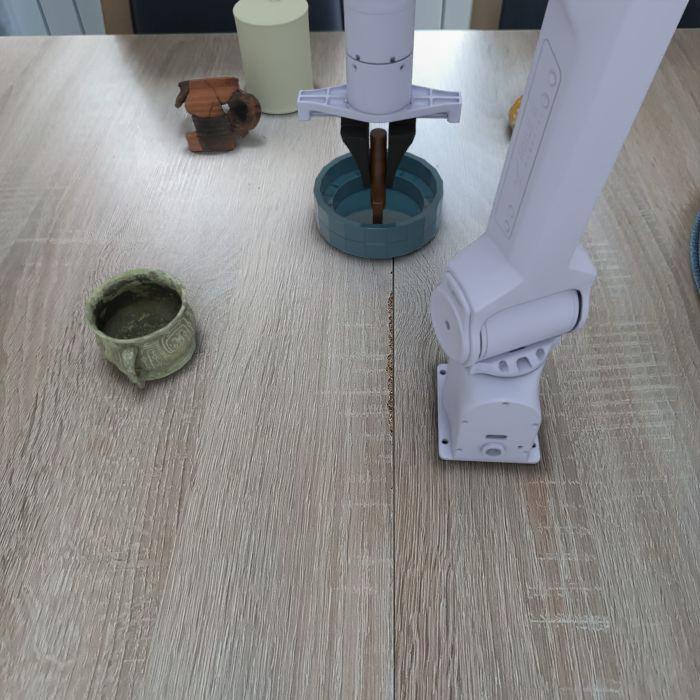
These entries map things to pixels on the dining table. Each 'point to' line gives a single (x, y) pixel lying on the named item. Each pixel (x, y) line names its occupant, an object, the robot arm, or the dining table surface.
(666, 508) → the dining table surface
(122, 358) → the vessel
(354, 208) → the bowl
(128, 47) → the dining table surface
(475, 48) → the dining table surface
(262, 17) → the can
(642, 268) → the dining table surface
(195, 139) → the pottery mug
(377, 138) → the stirring stick
